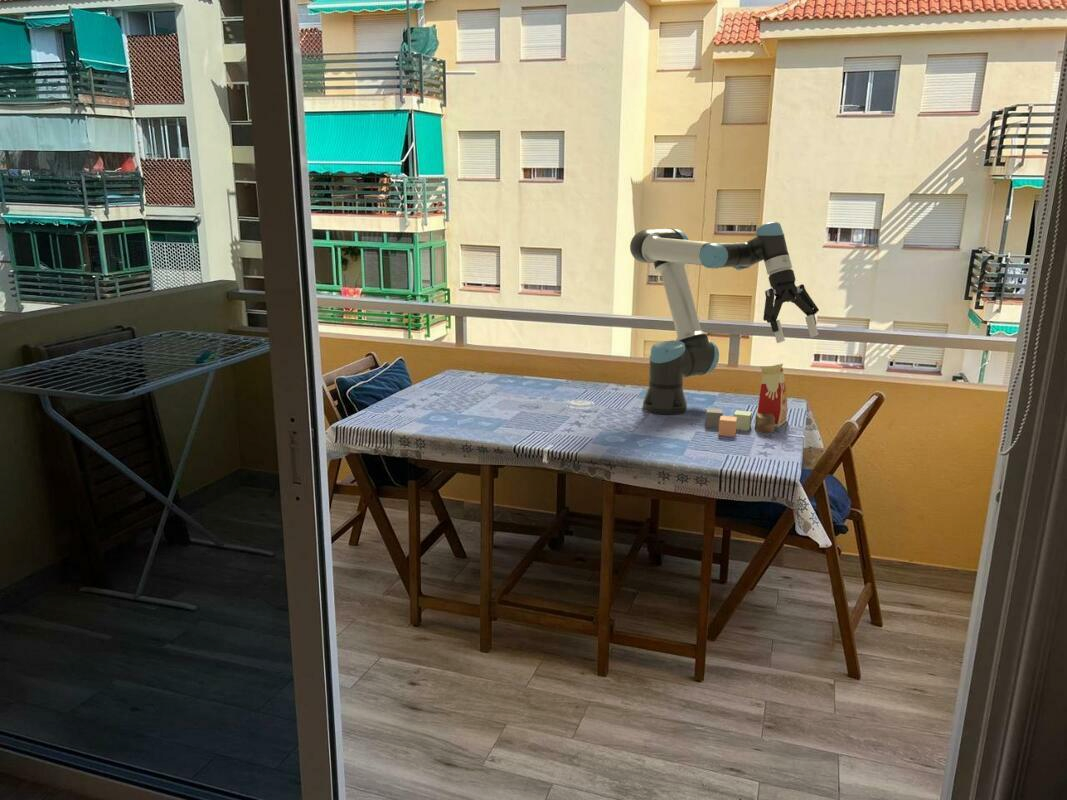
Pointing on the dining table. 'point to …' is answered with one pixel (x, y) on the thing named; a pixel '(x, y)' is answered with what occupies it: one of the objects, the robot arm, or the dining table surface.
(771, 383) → the milk carton
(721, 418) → the terracotta block
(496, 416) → the dining table surface
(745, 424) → the sage block
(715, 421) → the grey beige cube
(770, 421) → the walnut block
